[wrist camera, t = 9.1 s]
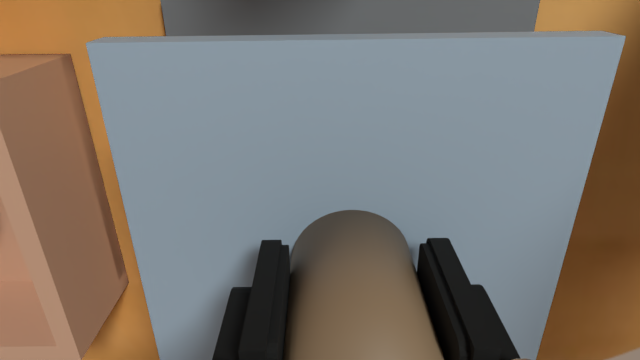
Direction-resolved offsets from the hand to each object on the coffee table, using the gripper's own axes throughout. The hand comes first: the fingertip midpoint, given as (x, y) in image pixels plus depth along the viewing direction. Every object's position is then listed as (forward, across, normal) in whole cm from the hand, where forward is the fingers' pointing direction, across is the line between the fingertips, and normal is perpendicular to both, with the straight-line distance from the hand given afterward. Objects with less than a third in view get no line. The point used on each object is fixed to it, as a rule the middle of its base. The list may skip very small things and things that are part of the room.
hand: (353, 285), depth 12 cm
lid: (+2, 0, 0) cm, 2 cm away
